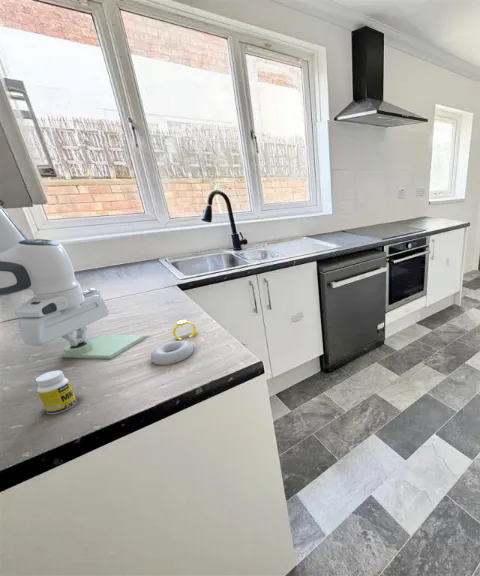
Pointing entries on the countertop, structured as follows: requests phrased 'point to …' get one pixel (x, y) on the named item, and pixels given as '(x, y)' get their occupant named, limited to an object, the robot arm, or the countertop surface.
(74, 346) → the button
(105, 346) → the scale
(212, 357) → the countertop surface
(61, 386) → the supplement bottle
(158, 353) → the donut
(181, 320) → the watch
